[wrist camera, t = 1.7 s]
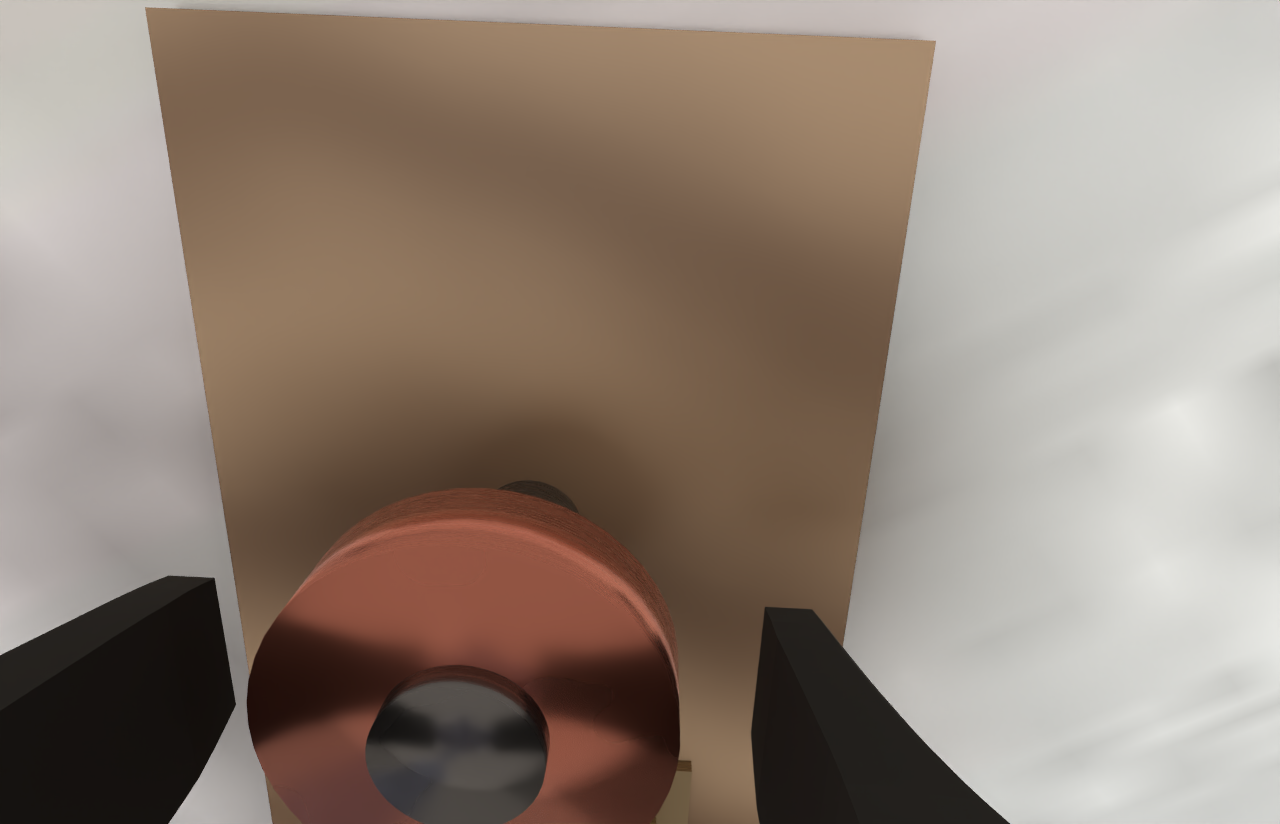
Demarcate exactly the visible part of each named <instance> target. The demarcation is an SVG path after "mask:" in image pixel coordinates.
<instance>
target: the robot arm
mask: <svg viewBox="0 0 1280 824" xmlns="http://www.w3.org/2000/svg"><path fill="white" fill-rule="evenodd" d="M235 706H236V702H235V697H234V691H233V685H232V679H231V673H230V667H229V661H228V655H227V649H226V643H225V637H224V631H223V625H222V620H221V614H220V608H219V602H218V596H217V590H216V584H215V578H204V577H185V576H167V577H164V578H161V579H159V580H156V581H154V582H151V583H149V584H147V585H144V586H142V587H140V588H137V589H135V590H133V591H131V592H129V593H126V594H124V595H122V596H120V597H118V598H116V599H114V600H112V601H110V602H108V603H105V604H103V605H101V606H99V607H97V608H95V609H93V610H91V611H89V612H87V613H85V614H83V615H81V616H79V617H77V618H75V619H73V620H71V621H69V622H67V623H65V624H63V625H61V626H59V627H57V628H55V629H53V630H51V631H49V632H47V633H45V634H43V635H41V636H39V637H36V638H34V639H32V640H30V641H28V642H26V643H24V644H22V645H20V646H18V647H16V648H14V649H12V650H10V651H8V652H6V653H4V654H2V655H0V824H168V823H169V822H170V820H171V819H172V817H173V816H174V814H175V813H176V812H177V810H178V809H179V807H180V806H181V804H182V803H183V801H184V800H185V798H186V797H187V795H188V794H189V792H190V791H191V789H192V787H193V786H194V784H195V783H196V781H197V780H198V778H199V777H200V775H201V773H202V771H203V769H204V767H205V765H206V763H207V762H208V760H209V758H210V756H211V754H212V752H213V750H214V748H215V747H216V745H217V743H218V741H219V738H220V736H221V734H222V732H223V730H224V728H225V726H226V724H227V722H228V720H229V718H230V716H231V714H232V712H233V710H234V708H235ZM751 742H752V756H753V770H754V782H755V794H756V806H757V813H758V818H759V823H760V824H1010V823H1009V822H1007V821H1006V820H1005V819H1004V818H1003V817H1002V816H1001V815H999V814H998V813H997V812H996V811H995V810H994V809H993V808H991V807H990V806H989V805H988V804H987V803H986V802H985V801H984V800H983V799H981V798H980V797H979V796H978V795H977V794H976V793H975V792H974V791H973V790H972V789H971V788H970V787H969V786H968V785H966V784H965V783H964V782H963V781H962V780H961V779H960V778H959V777H958V776H957V775H956V774H955V773H954V772H953V771H952V770H951V769H950V768H949V767H948V766H947V765H946V764H945V763H944V762H943V761H942V760H941V759H940V758H939V757H938V756H937V755H936V754H935V753H934V752H933V751H932V750H931V749H930V748H929V746H928V745H927V744H926V743H925V742H924V741H923V740H922V739H921V738H920V737H919V736H918V735H917V734H916V733H915V732H914V730H913V729H912V728H911V727H910V726H909V725H908V724H907V723H906V721H905V720H904V719H903V718H902V717H901V716H900V715H899V714H898V712H897V711H896V710H895V709H894V708H893V707H892V706H891V704H890V703H889V702H888V701H887V700H886V699H885V698H884V697H883V695H882V694H881V693H880V692H879V691H878V690H877V688H876V687H875V686H874V685H873V684H872V682H871V681H870V680H869V679H868V678H867V676H866V675H865V674H864V673H863V672H862V670H861V669H860V668H859V667H858V665H857V664H856V663H855V662H854V660H853V659H852V658H851V657H850V656H849V654H848V653H847V652H846V650H845V649H844V648H843V647H842V645H841V644H840V643H839V642H838V640H837V639H836V638H835V637H834V635H833V634H832V633H831V631H830V630H829V629H828V628H827V626H826V625H825V624H824V623H823V621H822V620H821V619H820V618H819V616H818V615H817V614H816V613H815V612H814V611H813V610H812V609H800V608H780V607H765V610H764V619H763V628H762V637H761V646H760V655H759V664H758V673H757V682H756V691H755V700H754V709H753V717H752V726H751Z"/></svg>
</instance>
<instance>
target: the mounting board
mask: <svg viewBox="0 0 1280 824" xmlns="http://www.w3.org/2000/svg"><path fill="white" fill-rule="evenodd" d="M145 10H146V16H147V22H148V29H149V35H150V42H151V48H152V54H153V61H154V67H155V74H156V80H157V86H158V93H159V99H160V106H161V112H162V118H163V125H164V131H165V138H166V144H167V150H168V157H169V163H170V170H171V176H172V182H173V189H174V195H175V202H176V208H177V214H178V221H179V227H180V234H181V240H182V246H183V253H184V259H185V266H186V272H187V278H188V285H189V291H190V298H191V304H192V310H193V317H194V323H195V330H196V336H197V342H198V349H199V355H200V361H201V368H202V374H203V381H204V387H205V393H206V400H207V406H208V413H209V419H210V425H211V432H212V438H213V445H214V451H215V457H216V464H217V470H218V477H219V483H220V489H221V496H222V502H223V509H224V515H225V521H226V528H227V534H228V541H229V547H230V553H231V560H232V566H233V573H234V579H235V585H236V592H237V598H238V605H239V611H240V617H241V624H242V630H243V637H244V643H245V649H246V656H247V662H248V669H249V675H250V673H251V669H252V665H253V661H254V657H255V655H256V653H257V651H258V648H259V646H260V644H261V642H262V640H263V637H264V636H265V634H266V633H267V631H268V630H269V628H270V627H271V625H272V624H273V622H274V621H275V619H276V618H277V616H278V615H279V614H280V612H281V611H282V610H283V608H284V607H285V606H286V604H287V603H288V602H289V601H290V599H291V598H292V597H293V595H294V594H295V593H296V591H297V590H298V589H299V587H300V586H301V585H302V583H303V582H304V581H305V580H306V578H307V577H308V576H309V574H310V573H311V572H312V570H313V569H314V568H315V566H316V565H317V564H318V563H319V561H320V560H321V559H322V557H323V556H324V555H325V553H326V552H327V551H328V550H329V549H330V548H331V546H332V545H333V544H334V543H335V542H336V541H337V540H338V539H339V538H340V537H341V536H342V535H343V534H344V533H345V532H346V531H348V530H349V529H350V528H351V527H353V526H354V525H355V524H357V523H358V522H359V521H360V520H362V519H363V518H365V517H367V516H369V515H370V514H372V513H374V512H376V511H377V510H379V509H381V508H383V507H385V506H388V505H390V504H392V503H395V502H397V501H400V500H402V499H405V498H408V497H412V496H416V495H420V494H423V493H427V492H432V491H440V490H447V489H455V488H488V489H498V488H500V487H502V486H504V485H506V484H509V483H512V482H516V481H522V480H532V481H539V482H543V483H546V484H549V485H552V486H554V487H556V488H557V489H559V490H560V491H562V492H563V493H564V494H566V495H567V496H568V497H569V498H570V499H571V500H572V502H573V503H574V505H575V506H576V508H577V510H578V512H579V514H580V515H581V516H583V517H585V518H587V519H589V520H590V521H592V522H593V523H595V524H596V525H598V526H599V527H601V528H602V529H604V530H605V531H607V532H608V533H609V534H611V535H612V536H613V537H614V538H615V539H617V540H618V541H619V542H620V543H621V544H622V545H624V546H625V547H626V548H627V549H628V550H629V551H630V552H631V553H632V554H633V555H634V557H635V558H636V559H637V560H638V561H639V562H640V563H641V564H642V565H643V566H644V568H645V569H646V571H647V572H648V574H649V575H650V576H651V578H652V579H653V581H654V582H655V584H656V585H657V587H658V589H659V591H660V593H661V595H662V597H663V599H664V601H665V603H666V605H667V607H668V610H669V613H670V616H671V619H672V622H673V625H674V628H675V634H676V640H677V646H678V671H679V710H680V752H679V758H678V760H683V761H691V765H692V775H691V788H690V800H689V812H688V824H760V823H759V818H758V813H757V806H756V794H755V782H754V770H753V756H752V742H751V726H752V717H753V709H754V700H755V691H756V682H757V673H758V664H759V655H760V646H761V637H762V628H763V619H764V610H765V607H780V608H800V609H812V610H813V611H814V612H815V613H816V614H817V615H818V616H819V618H820V619H821V620H822V621H823V623H824V624H825V625H826V626H827V628H828V629H829V630H830V631H831V633H832V634H833V635H834V637H835V638H836V639H837V640H838V642H839V643H840V644H841V645H842V647H843V641H844V634H845V628H846V621H847V615H848V608H849V602H850V595H851V589H852V582H853V576H854V569H855V563H856V556H857V550H858V543H859V537H860V530H861V524H862V517H863V511H864V504H865V498H866V491H867V485H868V478H869V472H870V465H871V459H872V452H873V446H874V439H875V433H876V426H877V420H878V413H879V407H880V400H881V394H882V387H883V381H884V374H885V368H886V361H887V355H888V348H889V342H890V335H891V329H892V323H893V316H894V310H895V303H896V297H897V290H898V284H899V277H900V271H901V264H902V258H903V251H904V245H905V238H906V232H907V225H908V219H909V212H910V206H911V199H912V193H913V186H914V180H915V173H916V167H917V160H918V154H919V147H920V141H921V134H922V128H923V121H924V115H925V108H926V102H927V95H928V89H929V82H930V76H931V69H932V63H933V56H934V50H935V43H936V41H925V40H901V39H878V38H854V37H831V36H807V35H783V34H760V33H736V32H713V31H689V30H665V29H642V28H618V27H595V26H571V25H547V24H524V23H500V22H477V21H453V20H429V19H406V18H382V17H359V16H335V15H311V14H288V13H264V12H240V11H217V10H193V9H170V8H146V7H145ZM265 777H266V784H267V790H268V797H269V803H270V809H271V816H272V822H273V824H303V823H302V822H301V821H300V820H299V819H298V818H297V817H296V816H295V815H294V814H293V813H292V812H291V811H290V810H289V808H288V807H287V806H286V804H285V803H284V802H283V800H282V799H281V798H280V796H279V795H278V794H277V793H276V791H275V790H274V788H273V786H272V785H271V783H270V781H269V779H268V778H267V776H266V774H265Z"/></svg>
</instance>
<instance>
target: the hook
mask: <svg viewBox="0 0 1280 824" xmlns="http://www.w3.org/2000/svg"><path fill="white" fill-rule="evenodd" d="M247 713H248V725H249V729H250V734H251V738H252V742H253V746H254V749H255V752H256V754H257V757H258V759H259V762H260V764H261V766H262V769H263V771H264V773H265V774H266V776H267V778H268V779H269V781H270V783H271V785H272V786H273V788H274V790H275V791H276V793H277V794H278V795H279V796H280V798H281V799H282V800H283V802H284V803H285V804H286V806H287V807H288V808H289V810H290V811H291V812H292V813H293V814H294V815H295V816H296V817H297V818H298V819H299V820H300V821H301V822H302V823H303V824H650V823H651V822H652V820H653V819H654V817H655V816H656V815H657V813H658V812H659V811H660V809H661V807H662V805H663V803H664V801H665V799H666V797H667V795H668V793H669V791H670V789H671V786H672V783H673V780H674V777H675V774H676V771H677V765H678V758H679V752H680V710H679V671H678V646H677V640H676V634H675V628H674V625H673V622H672V619H671V616H670V613H669V610H668V607H667V605H666V603H665V601H664V599H663V597H662V595H661V593H660V591H659V589H658V587H657V585H656V584H655V582H654V581H653V579H652V578H651V576H650V575H649V574H648V572H647V571H646V569H645V568H644V566H643V565H642V564H641V563H640V562H639V561H638V560H637V559H636V558H635V557H634V555H633V554H632V553H631V552H630V551H629V550H628V549H627V548H626V547H625V546H624V545H622V544H621V543H620V542H619V541H618V540H617V539H615V538H614V537H613V536H612V535H611V534H609V533H608V532H607V531H605V530H604V529H602V528H601V527H599V526H598V525H596V524H595V523H593V522H592V521H590V520H589V519H587V518H585V517H583V516H581V515H580V514H579V512H578V510H577V508H576V506H575V505H574V503H573V502H572V500H571V499H570V498H569V497H568V496H567V495H566V494H564V493H563V492H562V491H560V490H559V489H557V488H556V487H554V486H552V485H549V484H546V483H543V482H539V481H532V480H522V481H516V482H512V483H509V484H506V485H504V486H502V487H500V488H498V489H488V488H455V489H447V490H440V491H432V492H427V493H423V494H420V495H416V496H412V497H408V498H405V499H402V500H400V501H397V502H395V503H392V504H390V505H388V506H385V507H383V508H381V509H379V510H377V511H376V512H374V513H372V514H370V515H369V516H367V517H365V518H363V519H362V520H360V521H359V522H358V523H357V524H355V525H354V526H353V527H351V528H350V529H349V530H348V531H346V532H345V533H344V534H343V535H342V536H341V537H340V538H339V539H338V540H337V541H336V542H335V543H334V544H333V545H332V546H331V548H330V549H329V550H328V551H327V552H326V553H325V555H324V556H323V557H322V559H321V560H320V561H319V563H318V564H317V565H316V566H315V568H314V569H313V570H312V572H311V573H310V574H309V576H308V577H307V578H306V580H305V581H304V582H303V583H302V585H301V586H300V587H299V589H298V590H297V591H296V593H295V594H294V595H293V597H292V598H291V599H290V601H289V602H288V603H287V604H286V606H285V607H284V608H283V610H282V611H281V612H280V614H279V615H278V616H277V618H276V619H275V621H274V622H273V624H272V625H271V627H270V628H269V630H268V631H267V633H266V634H265V636H264V637H263V640H262V642H261V644H260V646H259V648H258V651H257V653H256V655H255V657H254V661H253V665H252V669H251V673H250V676H249V681H248V693H247Z"/></svg>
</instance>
